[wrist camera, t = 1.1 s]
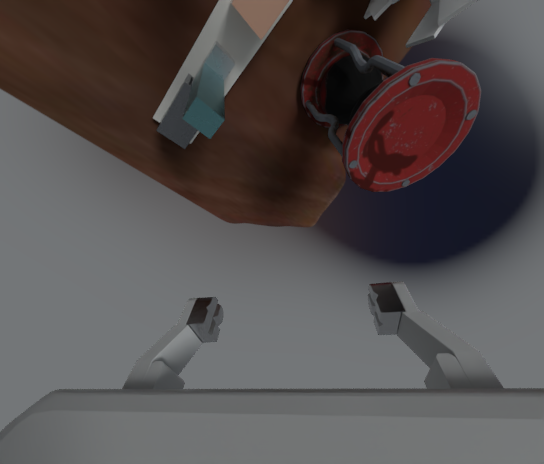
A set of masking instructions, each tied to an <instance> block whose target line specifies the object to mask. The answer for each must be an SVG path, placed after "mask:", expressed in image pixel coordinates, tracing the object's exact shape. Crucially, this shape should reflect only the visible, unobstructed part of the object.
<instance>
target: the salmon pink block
mask: <svg viewBox="0 0 544 464" xmlns="http://www.w3.org/2000/svg"><path fill="white" fill-rule="evenodd" d="M288 2H289V0H231V4H232V5H233V6H234V7H235V8H236V10H237V11H238V12H239V13H240V15H241V16H242V17H243V18H244V20H245V21H246V22H247V23H248V24H249V26H250V27H251V28H252V29H253V31H254V32H255V33H256V34H257V36H258V37H259V38H260V39H261V40H262V39H263V37H264V36H265V34H266V33H267V32H268V30H269V29H270V27H271V26H272V25H273V23H274V22H275V20H276V19H277V17H278V16H279V15H280V13H281V12H282V10H283V9H284V7H285V6H286V5H287V3H288Z"/></svg>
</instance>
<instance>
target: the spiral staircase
mask: <svg viewBox="0 0 544 464" xmlns="http://www.w3.org/2000/svg"><path fill="white" fill-rule="evenodd" d="M397 1H399V0H371V1H370V3H369V6H368V8H367V10H366V13H365V15H364V18H365V20H366V19H367V18H368V17H370V16H371V15H372V17H373V18H374V20H376V19H377V18H378V17H379V16H380V15H381V14H382V13H383V12H384V11H385V10H386V9H387V8H388V7H389V6H390V5H391V4H394V3H396V2H397ZM477 1H478V0H430V3H431V7H430V8H429V10H428V12H427V13H426V15H425V16H424V18H423V19H422V21H421V22H420V24H419V25H418V27H417V28H416V30H415V31H414V33H413V34H412V36H411V37H410V39H409V40H408V42H407V43H406V47H407V48H408V47H411V46H414V45H417V44H420V43H423V42H426V41H429V40H432V39H435V38H436V36H437V35H438V33H439V32H440V30H441V29H442V27H443V26H444V25H445V23H446V22H447V21H448V20H450V19H452V18H453V17H454V16H456V15H457V14H459V13H460V12H462V11H463V10H465V9H466V8H468V7H469V6H471V5H472V4H474V3H475V2H477Z"/></svg>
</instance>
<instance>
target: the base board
mask: <svg viewBox="0 0 544 464" xmlns="http://www.w3.org/2000/svg"><path fill="white" fill-rule="evenodd" d="M292 1H293V0H289V2H288V3H287V5H286V6H285V7H284V9H283V10H282V12H281V13H280V15H279V16H278V17H277V19H276V20H275V22H274V23H273V25H272V26H271V27H270V29H269V30H268V32H267V33H266V34H265V36H264V37H263V39H262V40H261V39H260V38H259V37H258V36H257V34H256V33H255V32H254V31H253V29H252V28H251V27H250V26H249V24H248V23H247V22H246V21H245V20H244V18H243V17H242V16H241V15H240V13H239V12H238V11H237V10H236V8H235V7H234V6H233V5H232V4H231V0H219V1H218V3H217V5H216V6H215V8H214V10H213V12H212V13H211V15H210V17H209V19H208V21H207V22H206V24H205V26H204V28H203V29H202V31H201V33H200V35H199V37H198V38H197V40H196V42H195V44H194V45H193V47H192V49H191V51H190V53H189V54H188V56H187V58H186V60H185V61H184V63H183V65H182V67H181V69H180V70H179V72H178V74H177V76H176V77H175V79H174V81H173V83H172V85H171V86H170V88H169V90H168V92H167V93H166V95H165V97H164V99H163V101H162V102H161V104H160V106H159V108H158V109H157V111H156V113H155V115H154V117H153V119H155V120H156V121H158V122H159V123H160V122H161V119H162V118H163V116H164V114H165V112H166V111H167V109H168V107H169V106H170V104H171V102H172V101H173V99H174V97H175V95H176V94H177V92H178V90H179V89H180V87H181V85H182V84H183V82H184V80H185V78H186V77H187V75H188V73H189V74H190V75H191V76H192V77H194V76H195V74H196V73H197V71H198V69H199V68H200V66H201V65H202V63H203V61H204V60H205V58H206V56H207V55H208V53H209V51H210V50H211V48H212V46H213V45H214V43H215V41H217V42H218V43H219V44H220V45H221V46H222V47H223V48H224V49H225V50H226V51H227V52H228V53H229V54H230V55H231V56H232V57H233V58H234V60H235V66H234V67H233V69H232V70H231V71H230V73H229V74H228V76H227V77H226V79H225V80H224V97H225V95H226V94H227V93H228V91H229V90H230V88H231V87H232V86H233V84H234V83H235V81H236V80H237V79H238V77H239V76H240V74H241V73H242V71H243V70H244V69H245V67H246V66H247V64H248V63H249V62H250V60H251V59H252V57H253V56H254V55H255V53H256V52H257V50H258V49H259V48H260V46H261V45H262V43H263V42H264V41H265V39H266V38H267V36H268V35H269V33H270V32H271V31H272V29H273V28H274V26H275V25H276V24H277V22H278V21H279V19H280V18H281V17H282V15H283V14H284V12H285V11H286V10H287V8H288V7H289V5H290V4H291V3H292ZM199 132H200V131H197V133H196V134H195V135H194V137H193V138H192V140H191V141H190V142H189V143H190V144H191V143H192V142H193V140H194V139H195V138H196V136H197V135H198V133H199Z"/></svg>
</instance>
